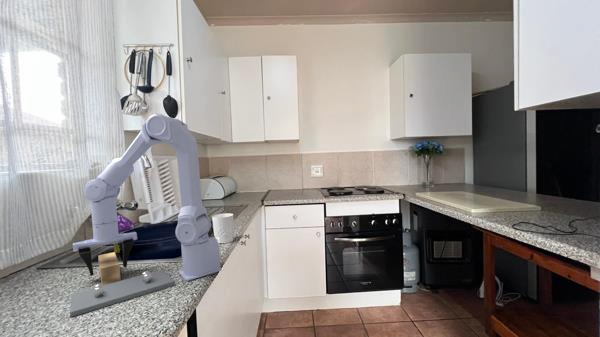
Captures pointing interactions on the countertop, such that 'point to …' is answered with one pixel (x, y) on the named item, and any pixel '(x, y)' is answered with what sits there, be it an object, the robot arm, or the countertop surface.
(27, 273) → the countertop surface
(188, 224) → the robot arm
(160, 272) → the flat gray rectangular plate
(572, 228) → the countertop surface
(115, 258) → the board
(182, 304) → the countertop surface
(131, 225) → the decorative mushroom
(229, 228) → the white cup
